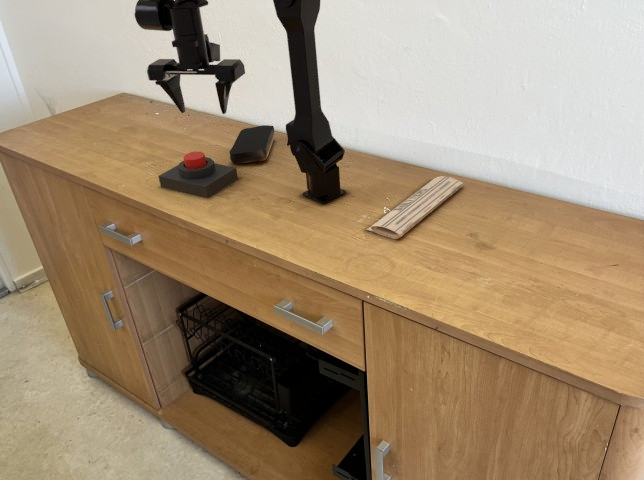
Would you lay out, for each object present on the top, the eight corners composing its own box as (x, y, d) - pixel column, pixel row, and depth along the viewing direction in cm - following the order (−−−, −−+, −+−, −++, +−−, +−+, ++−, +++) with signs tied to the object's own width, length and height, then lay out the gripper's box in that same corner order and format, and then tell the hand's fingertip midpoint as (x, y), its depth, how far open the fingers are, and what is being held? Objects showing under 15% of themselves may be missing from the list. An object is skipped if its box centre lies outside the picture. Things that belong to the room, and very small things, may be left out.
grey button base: (238, 179, 132) (235, 159, 129) (208, 198, 125) (203, 178, 122) (192, 169, 138) (188, 150, 135) (161, 187, 131) (156, 167, 128)
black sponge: (267, 165, 137) (264, 150, 134) (229, 167, 137) (226, 151, 135) (276, 138, 150) (275, 123, 148) (242, 139, 150) (240, 125, 148)
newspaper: (399, 240, 107) (399, 231, 106) (366, 230, 111) (365, 221, 110) (462, 188, 122) (463, 180, 121) (431, 181, 125) (431, 172, 124)
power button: (210, 162, 129) (209, 153, 128) (197, 171, 126) (195, 161, 125) (195, 159, 131) (193, 150, 130) (181, 167, 128) (178, 157, 127)
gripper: (249, 22, 122) (259, 101, 131) (164, 23, 126) (179, 99, 135) (227, 36, 113) (240, 119, 122) (137, 36, 117) (155, 116, 127)
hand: (203, 112), depth 127 cm, fingers open, 9 cm apart
